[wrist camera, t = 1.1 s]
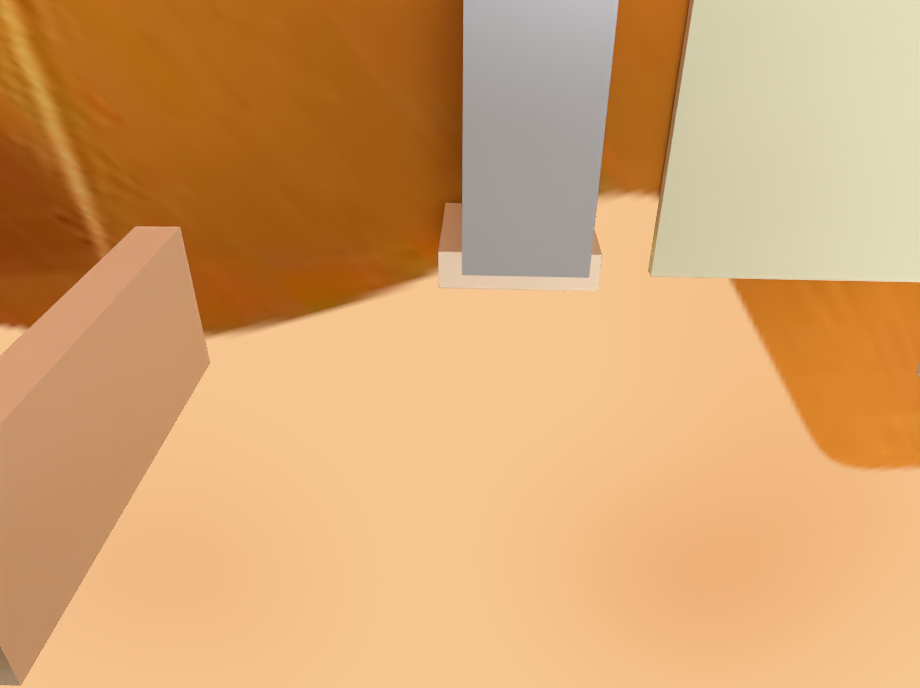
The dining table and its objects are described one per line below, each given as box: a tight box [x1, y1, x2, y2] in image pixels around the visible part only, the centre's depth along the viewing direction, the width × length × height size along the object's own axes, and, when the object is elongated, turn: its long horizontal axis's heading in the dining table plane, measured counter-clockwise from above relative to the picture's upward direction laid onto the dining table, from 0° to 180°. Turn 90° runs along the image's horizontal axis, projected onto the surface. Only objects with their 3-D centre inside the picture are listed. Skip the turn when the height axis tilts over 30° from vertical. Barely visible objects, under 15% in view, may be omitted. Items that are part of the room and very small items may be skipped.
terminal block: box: [462, 0, 619, 278], centre depth 25 cm, size 4×8×9 cm, turn 0°
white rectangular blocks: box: [438, 203, 602, 291], centre depth 27 cm, size 6×13×5 cm, turn 0°
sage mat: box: [648, 0, 920, 282], centre depth 28 cm, size 12×16×1 cm
